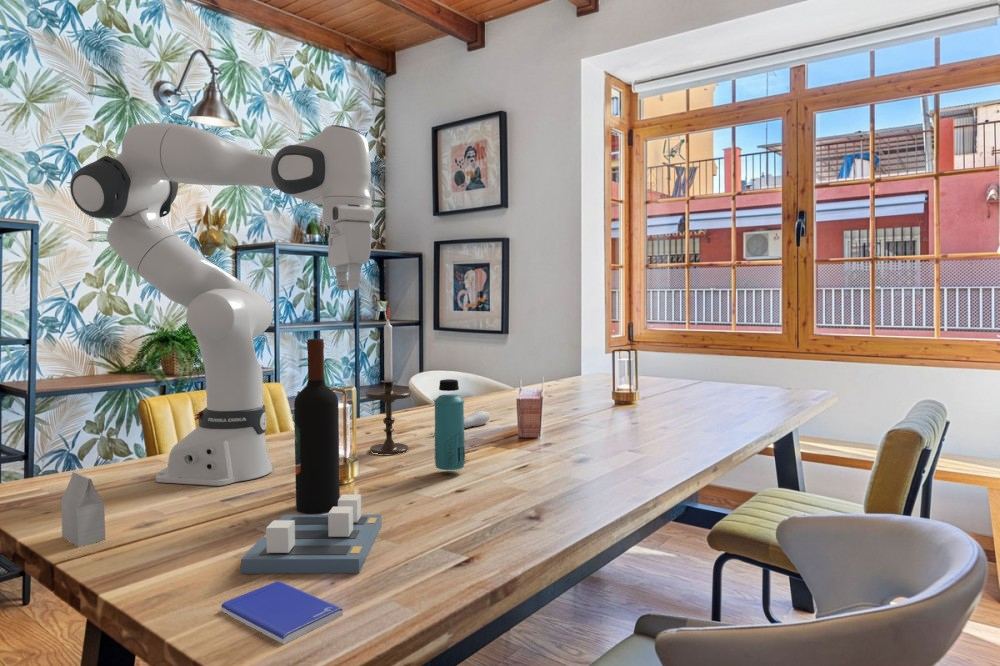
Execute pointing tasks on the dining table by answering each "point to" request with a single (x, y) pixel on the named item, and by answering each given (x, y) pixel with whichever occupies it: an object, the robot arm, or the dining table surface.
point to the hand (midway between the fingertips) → (347, 290)
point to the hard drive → (281, 611)
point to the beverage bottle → (449, 428)
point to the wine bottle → (316, 439)
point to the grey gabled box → (82, 512)
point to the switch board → (315, 548)
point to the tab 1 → (280, 536)
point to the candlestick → (388, 397)
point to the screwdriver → (475, 419)
